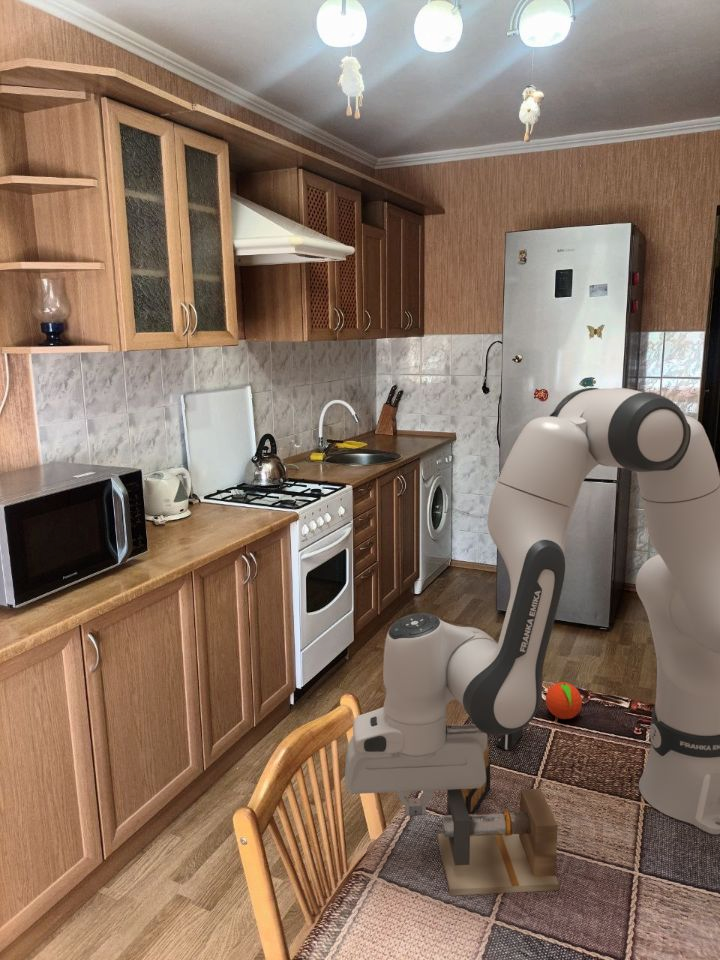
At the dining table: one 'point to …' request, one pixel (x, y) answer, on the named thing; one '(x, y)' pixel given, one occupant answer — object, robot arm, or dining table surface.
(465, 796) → the ammunition clip
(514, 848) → the pipe stand
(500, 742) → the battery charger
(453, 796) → the collar
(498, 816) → the steel pipe
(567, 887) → the dining table surface
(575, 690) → the clementine
